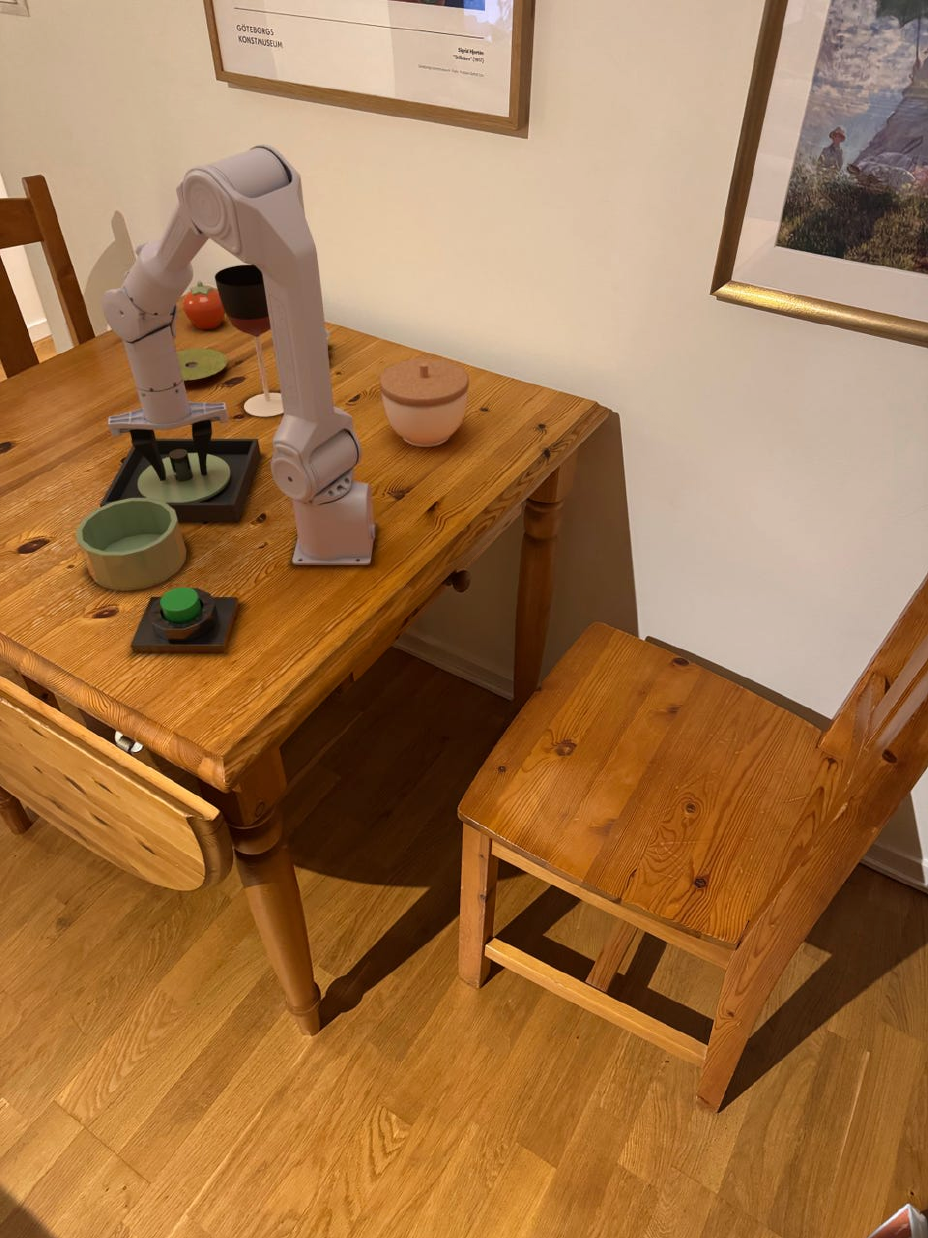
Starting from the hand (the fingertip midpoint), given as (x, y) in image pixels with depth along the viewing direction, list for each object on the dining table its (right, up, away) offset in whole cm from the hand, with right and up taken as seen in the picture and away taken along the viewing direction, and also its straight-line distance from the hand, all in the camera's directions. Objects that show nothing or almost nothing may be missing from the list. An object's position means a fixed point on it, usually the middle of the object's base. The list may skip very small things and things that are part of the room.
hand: (183, 474), depth 116 cm
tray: (0, -2, +1) cm, 2 cm away
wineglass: (+7, +14, +18) cm, 24 cm away
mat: (-7, +21, +26) cm, 34 cm away
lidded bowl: (+32, +8, +12) cm, 35 cm away
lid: (0, -1, +1) cm, 1 cm away
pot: (-2, -12, -10) cm, 16 cm away
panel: (+7, -21, -19) cm, 29 cm away
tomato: (-9, +33, +40) cm, 53 cm away
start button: (+7, -19, -21) cm, 29 cm away
